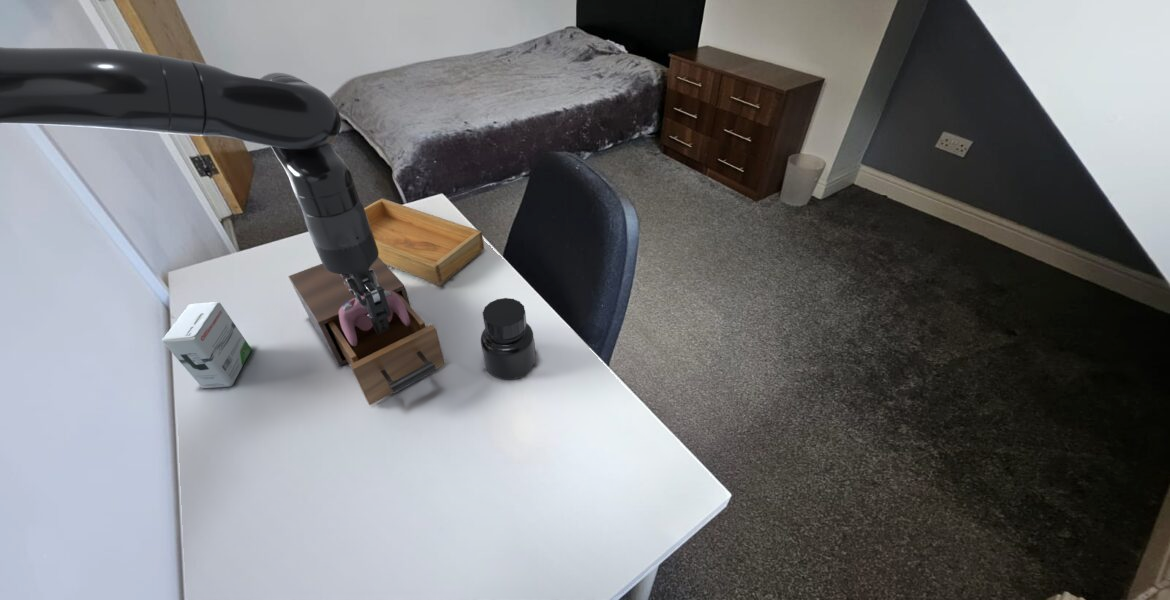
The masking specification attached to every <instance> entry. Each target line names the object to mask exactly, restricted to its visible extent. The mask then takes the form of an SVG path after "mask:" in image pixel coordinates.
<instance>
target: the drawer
mask: <svg viewBox="0 0 1170 600" xmlns="http://www.w3.org/2000/svg"><path fill="white" fill-rule="evenodd" d="M397 294H398V295H399V297H400V299H401V300H402V302H403V304H404V305H405V307H406V310H407V313H408V315H409V319H410V325H409V326H406V325H405V324H404V323H403V322H402V321H401V319H400V318H399V316H398V315H397V314H396V313H395V312H393V315H392V320H391V321H390V322H389V324H390V327H391V328H390V330H389V331H387V332H385V333H383V334H380V335H378V334H377V333H376V332H375V330H374V327H373V326H372V328H371V329H369V330H367V331H363V330H361V329H360V328H358V327H357V326H355V331H356V335H357V346H352V345H351V344H350V343H349V341H348V340H347V338H346V336H345V334H344V332H343V330H342V328H341V325H340V321H339V318H337V319H335V320H333V321H330V322H328V323H327V324H328V327H329V329H330V331H331V333H332V335H333V337H334V339H335V341H336V343H337V345H338V347H339V349H340V351H341V353H342V354H343V356H344V357H345V359H346V360H347V364H348V365H349V367H350V369H351V370H352V372H353V375H354V377H355V379H356V382H357V383H358V385H359V387H360V390H361V392H362V394H363V396H364V398H365V400H366V402H367V403H368V405H369V406H371V405H373V404H375V403H376V402H378V401H380V400H382V399H384V398H386V397H388V396H389V395H391V394H396V393H397V392H400V391H401V390H402V389H405V388H406V387H408V386H411V385H412V384H414V383H415V382H418V381H419V380H422V379H423V378H424V377H427V376H428V375H430V374H432V373H433V372H436V371H437V369H438V368H440V367H443V366H444V365H446V361H445V358H444V354H443V350H442V346H441V342H440V339H439V335H438V331H437V328H436V326H434V324H432V323H431V324H429V325H428V326H426V323H425V321H424V320H423V319H422V318H421V317H420V315H419V314H418V313H417V312H416V311H415V310H414V308H413V307H412V306H410V305H411V304H410V305H409V304H408V303H407V302H406V301H405V300H404V298H403V297H402V296H401V295H400V294H399V293H398V292H397ZM365 315H367V316H368V313H367V314H365Z"/></svg>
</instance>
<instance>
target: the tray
mask: <svg viewBox="0 0 1170 600" xmlns="http://www.w3.org/2000/svg"><path fill="white" fill-rule="evenodd" d="M363 208H364V210H365V212H366V215H367V218H368V221H369V224H370V227H371V230H372V233H373V236H374V239H375V242H376V245H377V248H378V252H379V254H378V257H379V258H380V259H381V260H382V261H383V262H384V264H385V265H386V266H390V267H392V268H396V269H398V270H400V271H403V272H406V273H408V274H411V275H412V276H415V277H418V278H421V279H423V280H426V281H429V282H431V283H432V284H433V283H434V284H436V285H439V286H442V285H443V284H444V283H445V282H446V281H448V280H449V279H450V278H451V277H453V276H454V275H455V274H456V273H457V272H459V271H460V270H461V269H462V268H463V267H465V266H466V265H467V264H468V263H470V262H471V261H472V260H473V259H474V258H475V257H477V256H478V255H479V254H481V252H483V251H484V250H485V244H484V237H483V232H482V231H481V230H480V229H476V228H473V227H469V226H467V225H463V224H460V223H457V222H455V221H451V220H450V219H449V220H448V219H445V218H443V217H439V216H436V215H433V214H431V213H427V212H425V211H421V210H418V209H415V208H412V207H409V206H406V205H403V204H400V203H397V202H394V201H391V200H388V199H386V198H379V199H378V200H376V201H375V202H372V203H371V204H369V205H367V206H366V207H363Z"/></svg>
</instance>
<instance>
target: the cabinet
mask: <svg viewBox="0 0 1170 600" xmlns="http://www.w3.org/2000/svg"><path fill="white" fill-rule="evenodd" d="M370 269H373V271H374V272H375V275H376V277H377V283H378V285H379V286H381V287H382V288H383V289H384V291H386V290H390V291H393V292H395V293H397V292H398V293H399V294H400V295H401V296H402V297H403V298H404V300H405V301H406V302H407V303H408V304H409V305H410V306H411V301H410V299H409V295H408V292H407V289H406V285H405V284H404V283H403V282H402V281H401V280H400V279H399V278H398V277H397V276H396V274H395V273H394V272H393V271H392V270H391V269H390V268H389V266H388V265H387V264H385V263H384V262H383V261H382V260H381V259H380V258H379V257H378V258H377V260H376V261H375V262H374V263H373V264H372V265H371V267H370V268H369V270H370ZM288 279H289V281H290V283H291V285H292V287H293V289H294V291H295V293H296V295H297V297H298V299H299V301H300V303H301V304H302V307H303V308H304V310H305V312H306V314H307V316H308V319H309V320H310V322H311V323H312V325H313V326H314V328H315V330H316V331H317V333H318V335H319V336H320V338H321V339H322V341H323V342H324V344H325V346H326V347H327V348H328V350H329V352H330V353H331V355H332V357H333V358H334V360H335V362H336V363H337V365H338V366H339V367H341V366H343V365H346V364H348V362H347V360H346V359H345V357H344V356H343V354H342V353H341V351H340V349H339V347H338V345H337V343H336V341H335V339H334V337H333V335H332V333H331V331H330V329H329V327H328V324H327V323H328V322H330V321H333V320H335V319H337V318H339V310H340V308H341V307H342V306H343V305H344V304H345V303H347V302H349V301H350V300H352V299H354V297H353V294H351V293H350V292H349V289H347V287H346V286H345V284H344V282H343V279H342V277H341V276H340V274H336V273H332V272H330V271H328V270H327V269H326V268H325V267H324V266H323V264H322V263H320V264H317V265H314V266H312V267H309V268H306V269H304V270H301V271H298V272H296V273H292V274H290V275H288ZM411 307H412V306H411Z"/></svg>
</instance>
